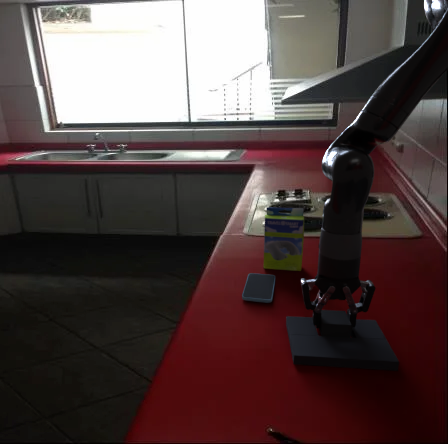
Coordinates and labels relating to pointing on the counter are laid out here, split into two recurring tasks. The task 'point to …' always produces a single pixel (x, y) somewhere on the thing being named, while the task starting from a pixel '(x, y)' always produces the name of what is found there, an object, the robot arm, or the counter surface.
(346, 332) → the dark grey square block
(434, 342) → the counter surface
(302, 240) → the box
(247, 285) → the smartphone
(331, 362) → the u-shaped block
